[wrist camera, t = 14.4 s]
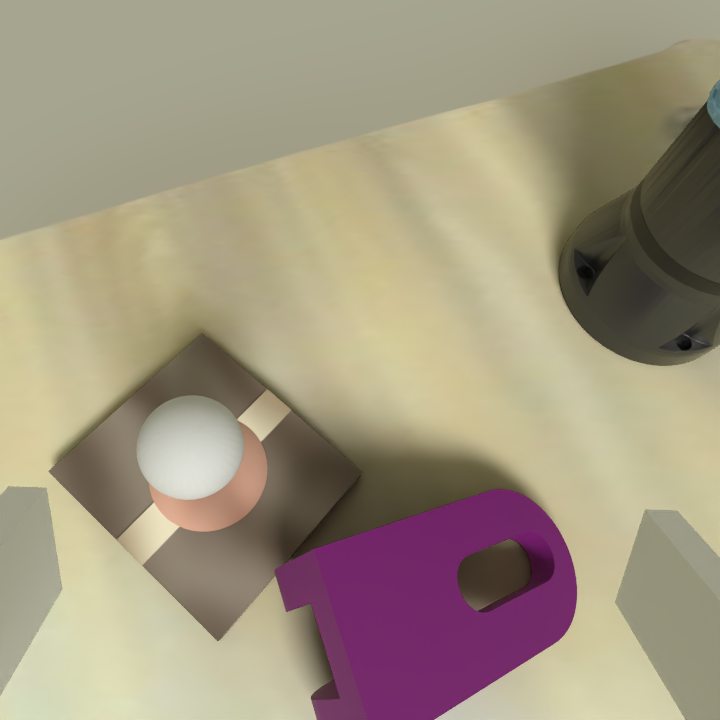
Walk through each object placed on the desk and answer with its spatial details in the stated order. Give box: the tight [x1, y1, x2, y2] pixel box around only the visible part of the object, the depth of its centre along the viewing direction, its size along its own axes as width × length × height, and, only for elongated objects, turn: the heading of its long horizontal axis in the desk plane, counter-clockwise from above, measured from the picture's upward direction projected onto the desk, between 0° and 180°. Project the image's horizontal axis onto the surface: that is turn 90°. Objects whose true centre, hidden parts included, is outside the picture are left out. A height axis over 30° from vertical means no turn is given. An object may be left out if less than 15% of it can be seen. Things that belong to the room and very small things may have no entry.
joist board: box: [49, 333, 362, 641], centre depth 39 cm, size 14×16×1 cm
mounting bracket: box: [274, 489, 577, 720], centre depth 37 cm, size 10×9×19 cm
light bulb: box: [136, 395, 244, 500], centre depth 34 cm, size 6×6×10 cm
